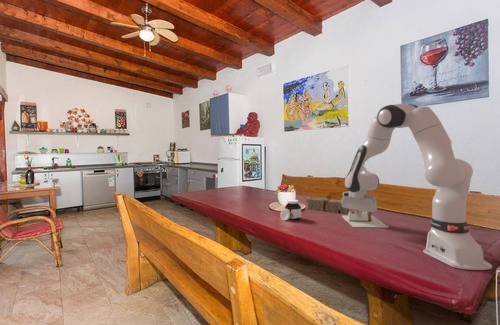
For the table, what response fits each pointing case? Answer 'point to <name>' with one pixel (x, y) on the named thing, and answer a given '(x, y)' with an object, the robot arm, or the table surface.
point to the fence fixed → (368, 215)
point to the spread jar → (291, 210)
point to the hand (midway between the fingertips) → (358, 217)
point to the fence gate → (354, 216)
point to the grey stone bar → (326, 205)
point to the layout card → (366, 223)
